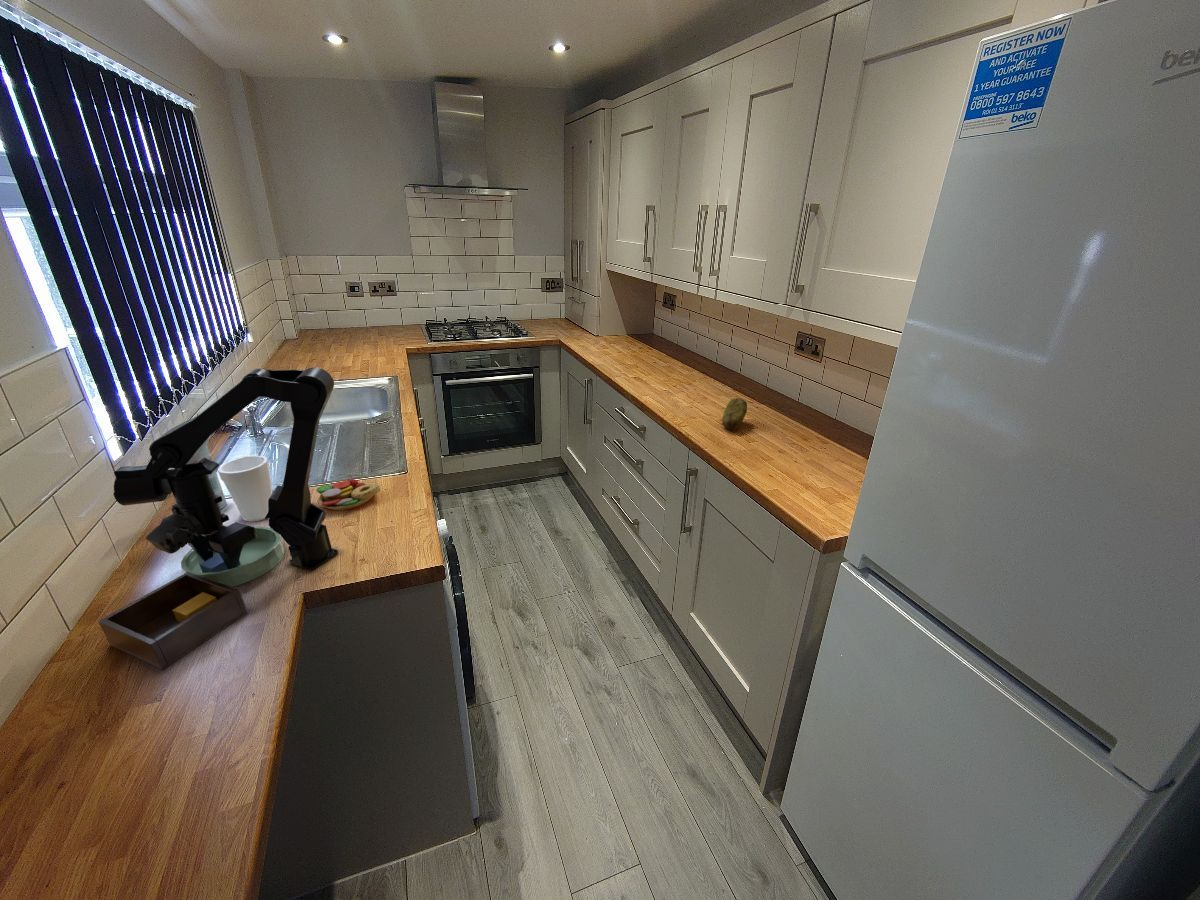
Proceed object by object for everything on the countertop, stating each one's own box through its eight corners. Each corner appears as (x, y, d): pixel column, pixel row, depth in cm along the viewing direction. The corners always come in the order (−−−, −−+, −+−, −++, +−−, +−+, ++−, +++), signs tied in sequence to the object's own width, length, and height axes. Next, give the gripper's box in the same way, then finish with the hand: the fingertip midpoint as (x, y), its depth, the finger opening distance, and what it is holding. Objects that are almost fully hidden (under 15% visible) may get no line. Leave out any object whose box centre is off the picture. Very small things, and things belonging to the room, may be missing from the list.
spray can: (212, 503, 127) (185, 426, 119) (235, 505, 126) (209, 428, 118) (188, 516, 122) (157, 437, 113) (212, 519, 120) (182, 439, 112)
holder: (197, 594, 96) (188, 571, 94) (247, 613, 91) (239, 589, 89) (110, 645, 84) (97, 621, 82) (162, 670, 80) (150, 644, 78)
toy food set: (387, 498, 128) (384, 486, 127) (332, 519, 119) (329, 507, 118) (362, 481, 137) (359, 470, 135) (309, 500, 128) (305, 488, 126)
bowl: (248, 534, 114) (244, 520, 113) (302, 550, 108) (298, 535, 107) (167, 578, 100) (161, 563, 99) (224, 598, 95) (218, 583, 93)
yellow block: (207, 602, 93) (202, 591, 92) (220, 607, 92) (216, 596, 91) (177, 621, 89) (172, 609, 88) (190, 626, 87) (185, 615, 86)
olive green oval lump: (711, 427, 168) (713, 404, 165) (731, 417, 177) (733, 394, 173) (735, 433, 163) (737, 409, 160) (753, 422, 172) (756, 399, 168)
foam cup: (240, 509, 124) (223, 459, 119) (284, 501, 128) (269, 452, 123) (232, 528, 116) (213, 476, 111) (279, 519, 120) (263, 468, 114)
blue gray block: (228, 560, 105) (225, 550, 104) (241, 564, 103) (237, 554, 102) (203, 574, 100) (199, 564, 99) (215, 579, 99) (211, 568, 98)
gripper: (113, 507, 92) (145, 580, 98) (180, 528, 85) (211, 604, 91) (180, 480, 101) (206, 548, 107) (246, 497, 94) (269, 568, 101)
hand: (221, 566), depth 102 cm, fingers open, 7 cm apart
